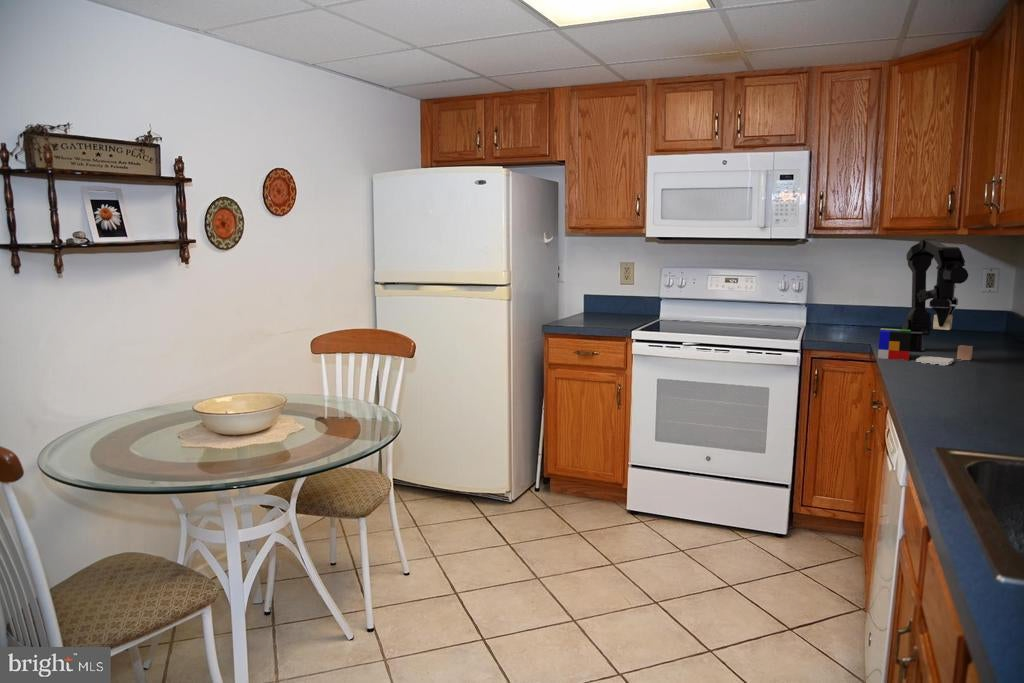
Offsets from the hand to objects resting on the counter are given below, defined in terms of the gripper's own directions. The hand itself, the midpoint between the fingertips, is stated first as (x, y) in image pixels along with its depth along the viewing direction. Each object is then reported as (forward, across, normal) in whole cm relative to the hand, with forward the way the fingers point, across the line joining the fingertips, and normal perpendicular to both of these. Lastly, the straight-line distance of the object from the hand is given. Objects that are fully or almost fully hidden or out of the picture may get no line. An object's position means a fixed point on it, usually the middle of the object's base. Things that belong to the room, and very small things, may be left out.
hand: (942, 326), depth 260 cm
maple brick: (+1, 0, 0) cm, 1 cm away
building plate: (+13, +5, -1) cm, 14 cm away
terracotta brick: (+13, -8, +7) cm, 16 cm away
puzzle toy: (+13, +2, -15) cm, 20 cm away
